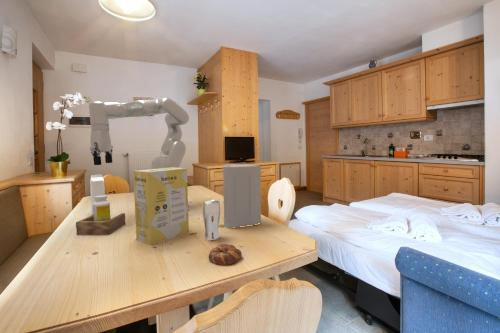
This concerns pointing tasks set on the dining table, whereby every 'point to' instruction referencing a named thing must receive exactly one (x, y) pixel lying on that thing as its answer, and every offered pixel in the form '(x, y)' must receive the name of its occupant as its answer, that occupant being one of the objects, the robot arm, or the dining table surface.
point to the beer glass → (211, 219)
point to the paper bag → (241, 195)
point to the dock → (99, 225)
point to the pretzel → (224, 254)
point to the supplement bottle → (101, 208)
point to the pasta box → (160, 204)
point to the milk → (96, 187)
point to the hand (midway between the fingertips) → (103, 163)
